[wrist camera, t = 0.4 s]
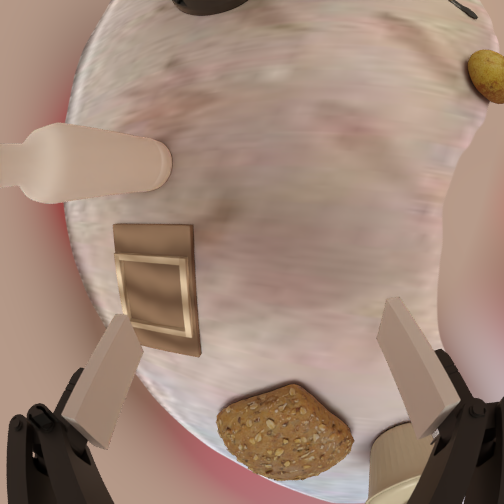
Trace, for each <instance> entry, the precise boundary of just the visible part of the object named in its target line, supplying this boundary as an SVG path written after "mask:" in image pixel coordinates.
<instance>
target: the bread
mask: <svg viewBox="0 0 504 504" xmlns="http://www.w3.org/2000/svg"><path fill="white" fill-rule="evenodd" d="M216 423H217V426H218V431H217V432H218V433H219V435H220V437H221V438H222V439H223V441H224V445H225V446H227V448H228V449H227V450H228V451H229V452H230V453H231V454H232V455H235V456H236V457H237V461H239V462H241V463H243V464H244V465H246V466H248V469H250V470H251V471H253V473H256V474H258V475H263V476H265V477H268V478H270V479H274V480H277V481H279V480H280V481H285V480H300V479H301V480H304V479H306V478H308V477H312V476H318V475H319V474H320V473H321V472H324V471H326V470H328V469H330V468H331V467H332V466H334V465H336V464H337V463H338V462H340V461H341V460H343V459H344V458H345V457H346V455H347V454H349V453H350V451H351V447H352V444H353V443H354V439H353V437H352V435H351V433H350V428H348V427H347V426H348V425H345V424H344V423H343V422H342V421H341V420H340V419H339V418H338V417H336V416H335V415H333V414H332V413H330V412H329V411H328V410H327V409H326V408H325V407H324V406H323V405H322V404H320V403H319V402H318V401H317V400H316V399H315V397H314V396H312V395H311V394H310V393H308V392H307V391H306V390H305V389H303V388H302V387H301V386H298V385H296V384H290V385H287V386H284V387H282V388H279V389H276V390H274V391H271V392H268V393H264V394H261V395H257V396H254V397H251V398H248V399H245V400H241V401H238V402H236V403H233V404H231V405H230V406H228V407H227V408H224V409H223V411H221V412H220V413H219V414H218V415H217V421H216Z"/></svg>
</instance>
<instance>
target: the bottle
mask: <svg viewBox="0 0 504 504" xmlns="http://www.w3.org/2000/svg"><path fill="white" fill-rule="evenodd" d="M171 169H172V156H171V154H170V152H169V149H168V148H167V147H166V146H165V145H164V144H163V143H162V142H159V141H156V140H153V139H150V138H146V137H144V138H143V137H139V136H134V135H129V134H124V133H119V132H114V131H108V130H103V129H97V128H91V127H85V126H78V125H72V124H64V123H55V124H51V125H48V126H45V127H42V128H39V129H37V130H34V131H33V132H32V133H31V134H30V135H29V136H28V137H27V139H26V140H25V141H24V142H23V144H0V188H4V187H12V186H19V187H20V188H21V190H22V191H23V193H24V194H25V195H26V196H27V197H28V198H30V199H31V200H34V201H37V202H41V203H46V204H55V203H60V202H66V201H73V200H79V199H86V198H93V197H100V196H107V195H115V194H124V193H133V192H148V191H152V190H155V189H157V188H160V187H161V186H162V185H163V184H164V183H165V182H166V181H167V179H168V177H169V175H170V173H171Z"/></svg>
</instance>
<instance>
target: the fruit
mask: <svg viewBox="0 0 504 504" xmlns="http://www.w3.org/2000/svg"><path fill="white" fill-rule="evenodd" d="M468 71H469V75H470V77H471V80H472V82H473V84H474V86H475V87H476V89H477V90H478V91H479V92H480V93H481V94H482V95H483V96H484V97H486V98H487V99H488V100H489V101H491V102H494V103H497V104H503V103H504V56H502V55H500V54H499V53H497V52H494V51H491V50H479V51H476V52H475V53H474V54H472V55H471V57H470V59H469V61H468Z"/></svg>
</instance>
